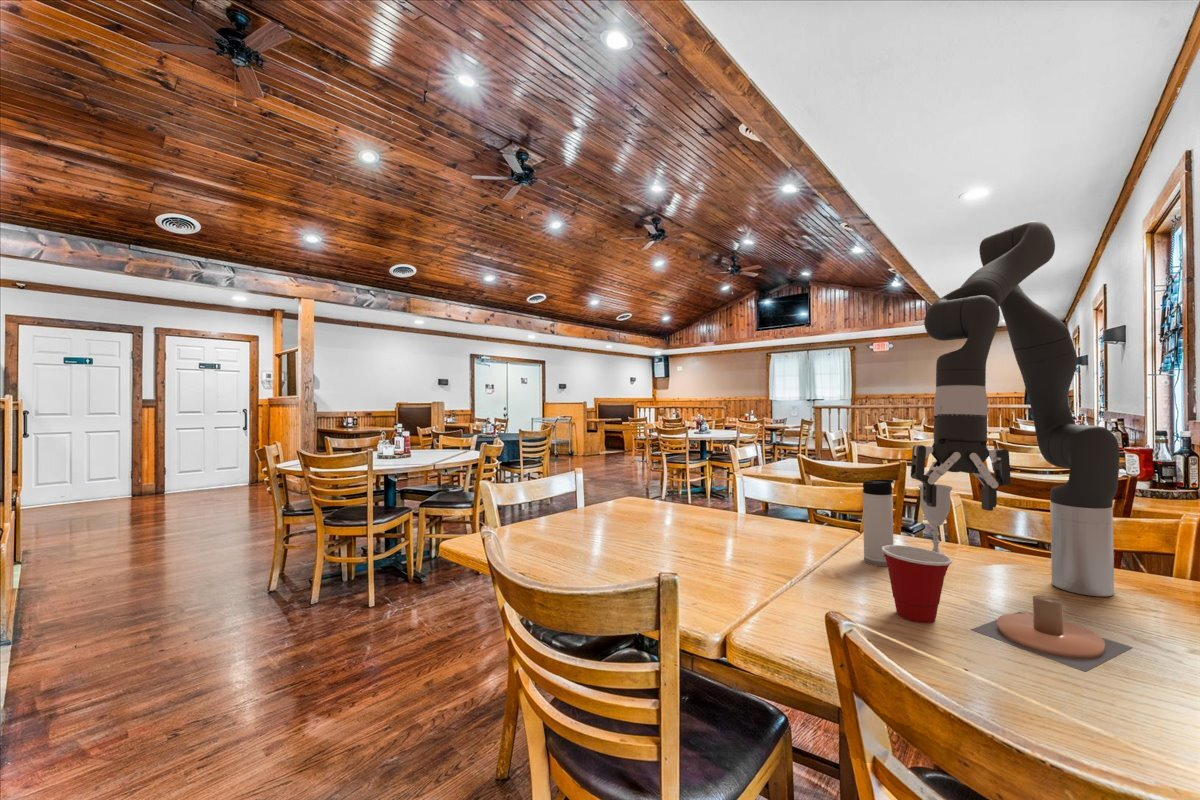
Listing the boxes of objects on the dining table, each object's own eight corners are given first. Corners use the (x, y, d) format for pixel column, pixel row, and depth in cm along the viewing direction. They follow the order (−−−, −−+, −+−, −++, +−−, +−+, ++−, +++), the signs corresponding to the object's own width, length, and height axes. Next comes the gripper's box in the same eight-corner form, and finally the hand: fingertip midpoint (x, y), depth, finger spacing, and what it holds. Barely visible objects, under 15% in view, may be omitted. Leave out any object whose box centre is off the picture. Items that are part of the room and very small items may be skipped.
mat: (1019, 613, 92) (1019, 611, 92) (1133, 649, 79) (1132, 647, 79) (970, 631, 86) (970, 629, 86) (1085, 674, 72) (1085, 671, 72)
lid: (1022, 614, 91) (1021, 580, 91) (1121, 645, 79) (1120, 605, 79) (980, 630, 85) (979, 593, 85) (1080, 666, 74) (1079, 623, 74)
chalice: (961, 566, 118) (959, 488, 118) (931, 567, 118) (930, 489, 118) (940, 556, 125) (939, 483, 125) (912, 557, 125) (911, 484, 125)
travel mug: (894, 568, 117) (893, 481, 117) (862, 564, 121) (861, 479, 121) (895, 560, 123) (894, 478, 123) (865, 556, 126) (863, 476, 126)
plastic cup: (969, 630, 86) (968, 559, 86) (908, 633, 86) (907, 562, 86) (924, 604, 97) (923, 541, 97) (870, 607, 97) (868, 543, 97)
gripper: (994, 415, 90) (993, 508, 89) (905, 412, 93) (904, 502, 92) (1020, 414, 83) (1019, 515, 82) (923, 410, 85) (921, 508, 85)
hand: (958, 508), depth 87 cm, fingers open, 8 cm apart
